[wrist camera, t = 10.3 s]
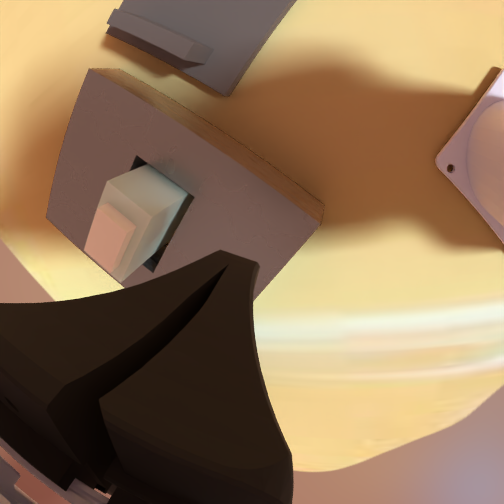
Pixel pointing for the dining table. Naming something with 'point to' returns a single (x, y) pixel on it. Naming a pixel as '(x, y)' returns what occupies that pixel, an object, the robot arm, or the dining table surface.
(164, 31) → the dark grey holder base
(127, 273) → the plug
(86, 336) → the robot arm
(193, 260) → the port block
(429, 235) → the dining table surface
